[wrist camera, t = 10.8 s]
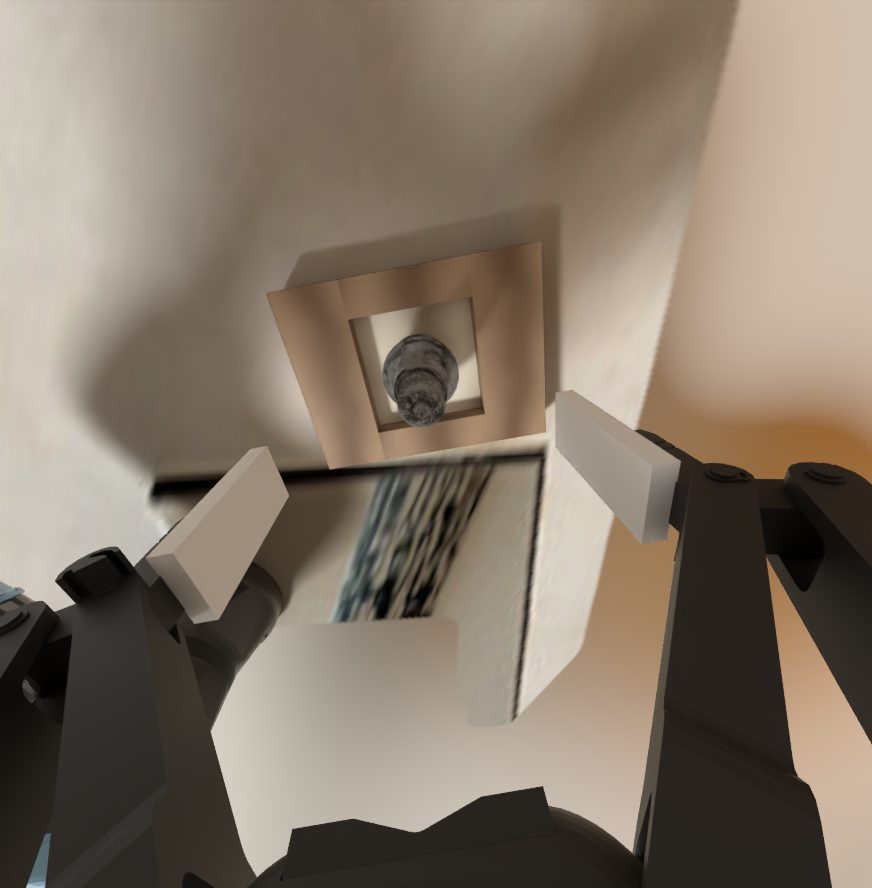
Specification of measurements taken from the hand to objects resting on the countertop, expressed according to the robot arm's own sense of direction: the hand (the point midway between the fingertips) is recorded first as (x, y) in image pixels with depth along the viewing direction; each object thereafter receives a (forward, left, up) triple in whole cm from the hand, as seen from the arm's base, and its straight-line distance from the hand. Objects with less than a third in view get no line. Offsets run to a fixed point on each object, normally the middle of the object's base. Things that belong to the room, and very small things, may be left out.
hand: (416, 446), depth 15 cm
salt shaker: (0, 0, -15) cm, 15 cm away
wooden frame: (0, 0, -17) cm, 17 cm away
